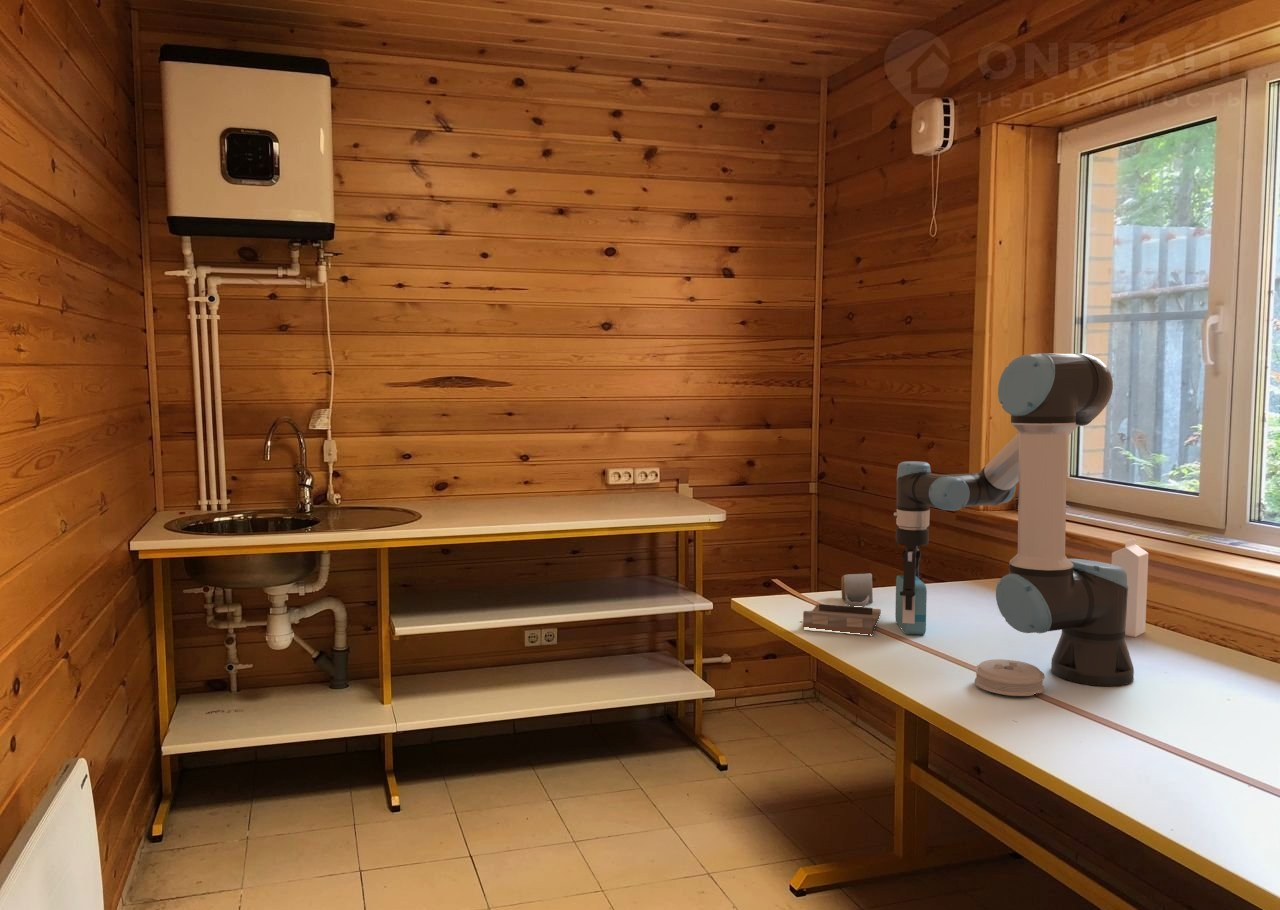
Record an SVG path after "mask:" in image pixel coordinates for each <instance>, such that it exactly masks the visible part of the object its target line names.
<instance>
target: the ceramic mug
mask: <svg viewBox="0 0 1280 910" xmlns="http://www.w3.org/2000/svg"><path fill="white" fill-rule="evenodd" d="M840 585H841V588H840V589H841V599H842V601H844V602H845V603H846V604H847V606H849V605H850V606H863V607H865V606H867V604H872V603H873V601H874V600H873V597H874V596H873V594H874V593H873V574H872V573H868V572H867V573H852V574H851V573H850V574H844V575H842V576H841V584H840Z"/></svg>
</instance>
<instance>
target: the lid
mask: <svg viewBox="0 0 1280 910" xmlns="http://www.w3.org/2000/svg"><path fill="white" fill-rule="evenodd" d="M974 671H975V674H976V675H975V679H974V684H975V685H976V686H977V687H978V688H980V689H982V690H984V691H987V692H990V693H994V694H999V695H1002V696H1003V695H1004V696H1013V697H1028V696H1035V695H1034V693H1039V694H1042V693H1043V692H1044V691H1045V686H1044V680H1045V678H1046V677H1045V675H1046V674H1045V673H1044V672H1043V671H1041V670H1040V668H1038V667H1037V666H1036V665H1034V664H1031V663H1028V662H1024V661H1019V660H1014V659H1001V658H1000V659H999V658H998V659H988V660H985V661H981V662H980V663H979V664H977V665H976V666H975V667H974Z"/></svg>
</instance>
